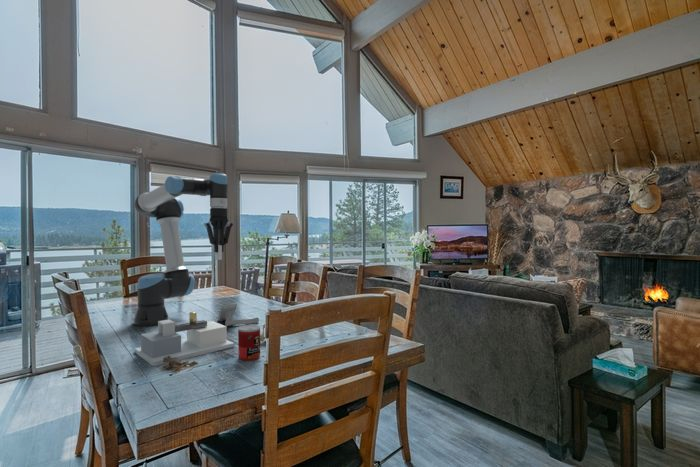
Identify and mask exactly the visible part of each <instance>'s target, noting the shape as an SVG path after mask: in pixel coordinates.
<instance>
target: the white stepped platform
mask: <svg viewBox="0 0 700 467" xmlns="http://www.w3.org/2000/svg"><path fill="white" fill-rule="evenodd" d="M175 325H176V321H174V320H171V319H168V320H163V321H158V325H157V331H156V330H155V331H152V332H146V333H141V334H140V347H135V348H134V353H135V354H136V355H138V356H139V357H140V358H142V359H143V360H144V361H145V362H147V363H148V364H150V366H152V367H156V366H159V365H160V366H161V365H164V364H165V365H166V364H167V362H163V358H165V357H167V356H170V357H172V358H178V359H179V360H180V361H182V360H184V359H190V358H192V357H197V356H201V355H206V354H210V353H214V352H219V351H223V350H228V349H230V348H234V347H235V343H234V342H232V341H230V340H228V339H227V337H228V335H227V334H228V333H227V330H228V329H227V328H228V327H227V326H225V325H223V324H221V323H218V322H216V321H213V320H212V321H207V327H201V328H196V329H191V330H186V337H185V338H182V335H181V334H179V333H178V332H175Z"/></svg>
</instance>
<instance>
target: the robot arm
mask: <svg viewBox="0 0 700 467" xmlns="http://www.w3.org/2000/svg"><path fill="white" fill-rule="evenodd" d="M228 183H229V182H228V175H227V174H225V173H220V172H219V173H218V172H216V173H215V172H214V173H210V175H209V179H208V178H207V179H206V178H205V179H204V178H194V177H193V178H192V177H184V176H177V175H175V176H171V175H170V176H168V177H166V180H165V181H164V184H162V185H160V186H159V187H157V188H154V189H153V190H151V191H149V192H143V193H141V194H139V195H138V196H137V197H136V198H135V200H134V208H135V210H136V212H137V213H138V214H140V215H141V216H143V217H147V218H155V220H156V223H157V224H159V225H160V226H159V227H160V233H161V240H162V246H163V252H164V260H165V267H166V270H165V271H164V272H157V273H150V274H146V275H142V276H140V277H139V278H138V279H137V286H136V287H137V309H136V312H135V316H134V318H133V325H134V326H138V327H149V326H150V327H151V326H158V321H163V320H169V314H168V312H167V309H166V306H165V300H166V299H167V300H168V299H173V298H181V297H185V296H189V295H190V294H191V293H192V292H193V291H194V290H195V289H194V288H195V284H196V282H195V281H196V280H195V277H194V275H193V273H192V272H191V273H190V272H189V268H187V267H185V261H184V255H183V248H182V241H181V235H180V229H179V228H180V227H179V222H180V220H181V218H182V217H183V215H184V210H185V208H184V203H183V202H182V200H181V199H180V198H179V196H182V195H189V196H190V195H193V196H199V197H207V196H209V198H210V199H209V207H210V209H209V217H210V218H209V221H207V222H205V223H204V224H203V225H204V227H205V228H206V233H207V235H208V236H207V237H208V239H209V243H210V244H211V245H213V249H214V253H215V260H218V261H222V260H223V253H224V250H225V249H224V246H225V245H227V244H228V243H229V238H230V234H231V231H232V230H231V229H232V227H233V226H234V223H233V222H230V221H229V218H228V209H227V208H228V186H229V185H228Z"/></svg>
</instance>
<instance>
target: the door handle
mask: <svg viewBox="0 0 700 467" xmlns="http://www.w3.org/2000/svg"><path fill="white" fill-rule="evenodd" d="M237 306H238V305H237V303H231V304H223V305H221V307H220V309H219V314H218V317H217V320H218V322H221V321H224V324H225V325H224V326H227V328H228V327H233V326H236V325H238V326H239V325H252V324H251V323H255V324H259V322H260V319H259V317H255V318H246V319H245V318H243V319H233V317H234V315H235V312H236V310H237Z"/></svg>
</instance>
